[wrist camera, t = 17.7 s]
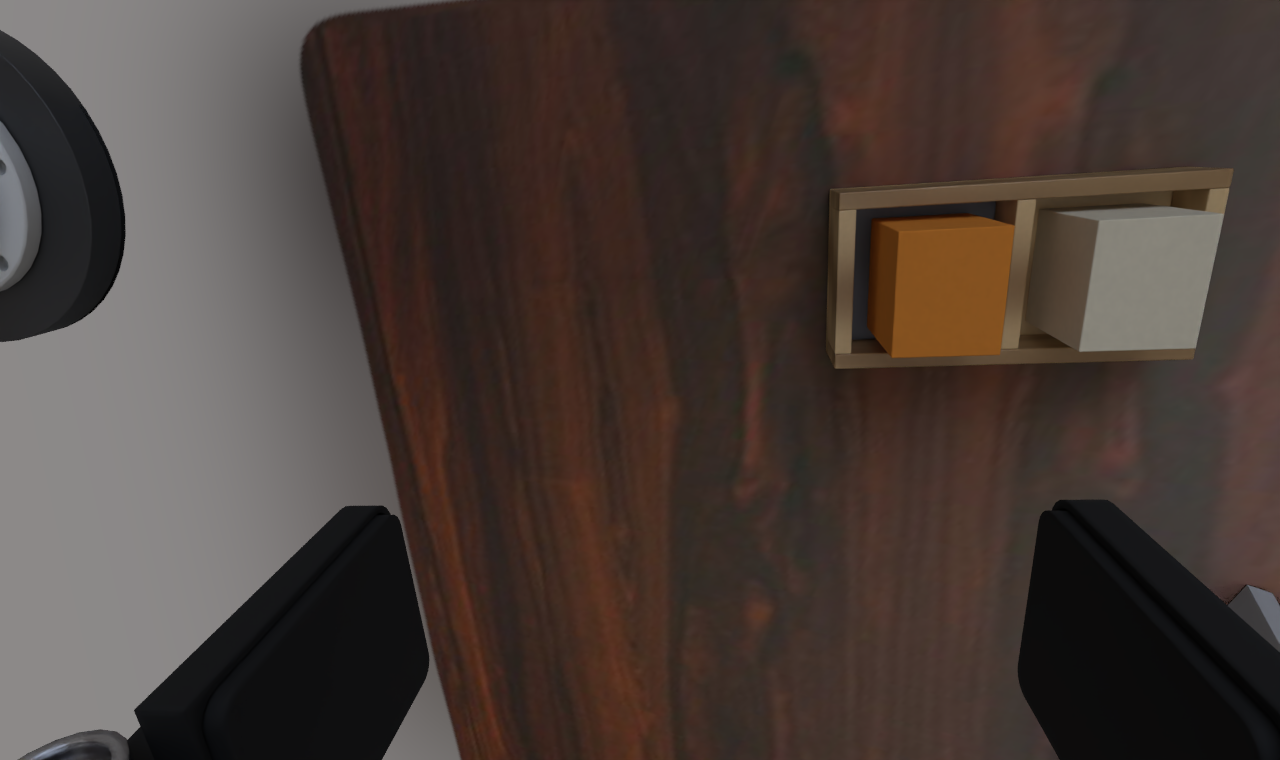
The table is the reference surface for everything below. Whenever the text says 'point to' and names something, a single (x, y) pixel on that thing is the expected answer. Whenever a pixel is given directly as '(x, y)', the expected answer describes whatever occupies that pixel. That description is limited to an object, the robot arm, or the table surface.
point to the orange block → (939, 284)
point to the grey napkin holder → (1259, 613)
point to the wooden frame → (1019, 208)
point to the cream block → (1122, 275)
